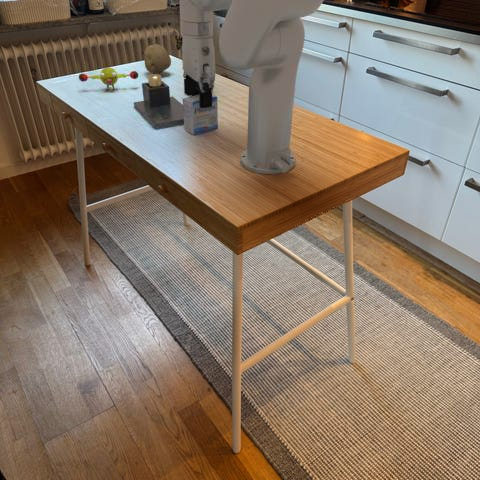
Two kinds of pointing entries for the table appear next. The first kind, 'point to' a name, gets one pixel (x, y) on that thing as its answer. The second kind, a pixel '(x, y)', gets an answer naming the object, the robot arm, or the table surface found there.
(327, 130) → the table surface
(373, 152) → the table surface
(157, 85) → the pin
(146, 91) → the grey stand
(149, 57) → the natural sponge
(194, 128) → the medicine box
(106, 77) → the toy figure
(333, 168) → the table surface
